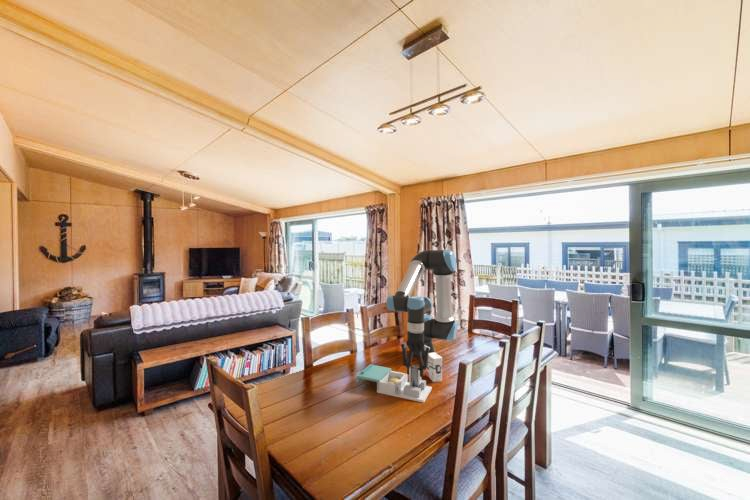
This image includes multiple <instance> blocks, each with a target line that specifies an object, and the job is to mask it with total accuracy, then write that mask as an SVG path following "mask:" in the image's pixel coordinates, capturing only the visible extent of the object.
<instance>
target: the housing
mask: <svg viewBox="0 0 750 500" xmlns="http://www.w3.org/2000/svg"><path fill="white" fill-rule="evenodd" d="M432 390H433V387H432V386H429V385H427V380H425V379H421V383H420V388H417V387H412V386H411V383H409V375H408V374H407V372H406V373H404V372H401V371H394V370H391V371H390V372H389V373H388V374H387V375H386V376H385V377H384V378H383V379H382V380H381V381H380V382H376V393H378V394H382V395H387V396H392V397H396V398H401V399H404V400H410V401H414V402H419V403H422V404H423V403H425V401H426V400H427V398H428V396H429V395H430V394H431V391H432Z"/></svg>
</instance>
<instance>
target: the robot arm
mask: <svg viewBox="0 0 750 500" xmlns="http://www.w3.org/2000/svg"><path fill="white" fill-rule="evenodd" d="M456 270H457V259H456V255H455V253H454V251H452V250H448V249H447V250H445V249H436V250H435V249H426V250H423V251H420V252H418V253H417V254H416V255H415V256H413V258H411V260H410V262H409V263H408V269H407V270H406V273H405V274H404V277H403V278H402V280H401V283H400V284H399V286H398V288H397V290H396V291H395V293H394V295H393V294H391V295H389V296H387V299H386V300H385V301H386V302H385V304H386V309H387V310H388V311H393V312H401V313H402V312H403V313H407V324H406V325H407V327H406V328H407V331H406V332H407V334H406V335H407V336H406V337H407V338H406V342H402V344H400V347H401V349H402V350H401V351H402V365H403V367H406V374H408V382H409V383H411V366H412V361H413V357H416V358H417V360H418V361H417V362H418V366H419V368H420V369H419V370H418V384H419V385H420V383H421V380H422V377H424V370H426V368H427V367H428V355H429V353H433V352H435V353H436V350H435V347H434V343H433V339H435V340H440V341H446V342H453V341H454V340H455V339H456V337H457V334H458V333H457V332H458V327H459V322H458V321H457V320H455V318H456V317H455V316H454V315H452V314H453V313H452V308H453V307H452V280H451V278H452V276H453V275H454V272H456ZM425 271H432V275H433V276H434V277H435V293H436V296H435V297H436V298H435V299H436V315H435V316H434V318H433V316H432V315H431V314H428V313H430V311H432V309H433V306H434V305H433V301H432V299H430V298H429V297H427V296H424V297H423V296H419V295H418V296H416V295H415V296H412V294H413V292H414V290H415V287H416V285H417V283H418V281H419V279H420V277H421V275H422V274H424V273H425ZM427 314H428V315H427ZM407 348H408V349H409V352H408V350H407ZM407 352H408V353H409V354H408V353H407ZM423 359H424V360H423Z"/></svg>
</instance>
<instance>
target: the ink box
mask: <svg viewBox="0 0 750 500" xmlns="http://www.w3.org/2000/svg"><path fill="white" fill-rule="evenodd" d="M425 371H426V372H425V377H428V379H430V380H431V381H432V382H433V383H437V382H442V381H443V356H441V355H439V354H438V353H437V352H436V351H435V352H433V353H429V355H428V367H427V368H426V369H425Z"/></svg>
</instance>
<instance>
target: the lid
mask: <svg viewBox="0 0 750 500" xmlns="http://www.w3.org/2000/svg"><path fill="white" fill-rule="evenodd" d="M390 371H392V368H391V367H386V366H381V365H376V364H375V365H374V364H372V363H370V364H369V365H367V366H366V367H365V368H363V369H362V370H361V371H360V372H359V373H358V374H356V377H355V378H356V382H357V383H359V382H360V381H362V380H367V381H371V382H375V383H377V382H380V381H381V380H382V379H383V378H384V377H385V376H386V375H387V374H388V373H389V372H390Z"/></svg>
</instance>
